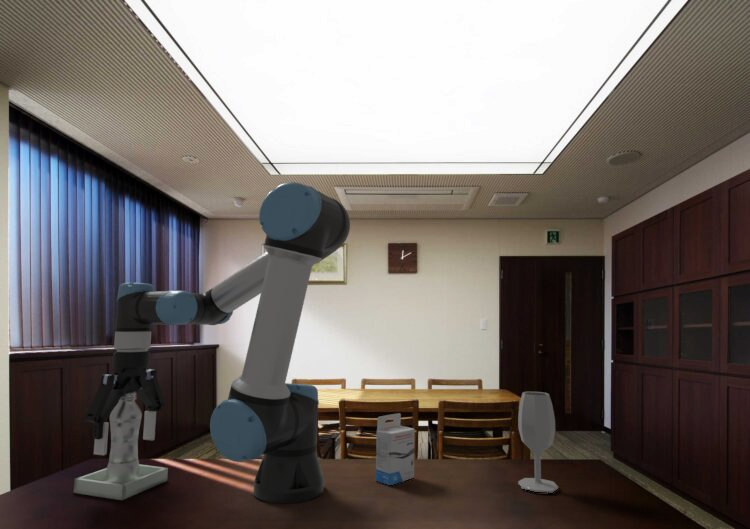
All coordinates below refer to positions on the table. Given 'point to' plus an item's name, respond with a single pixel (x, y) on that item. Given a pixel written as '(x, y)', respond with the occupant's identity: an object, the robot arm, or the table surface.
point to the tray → (102, 488)
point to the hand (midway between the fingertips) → (125, 446)
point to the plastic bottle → (124, 440)
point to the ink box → (394, 450)
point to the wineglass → (536, 435)
